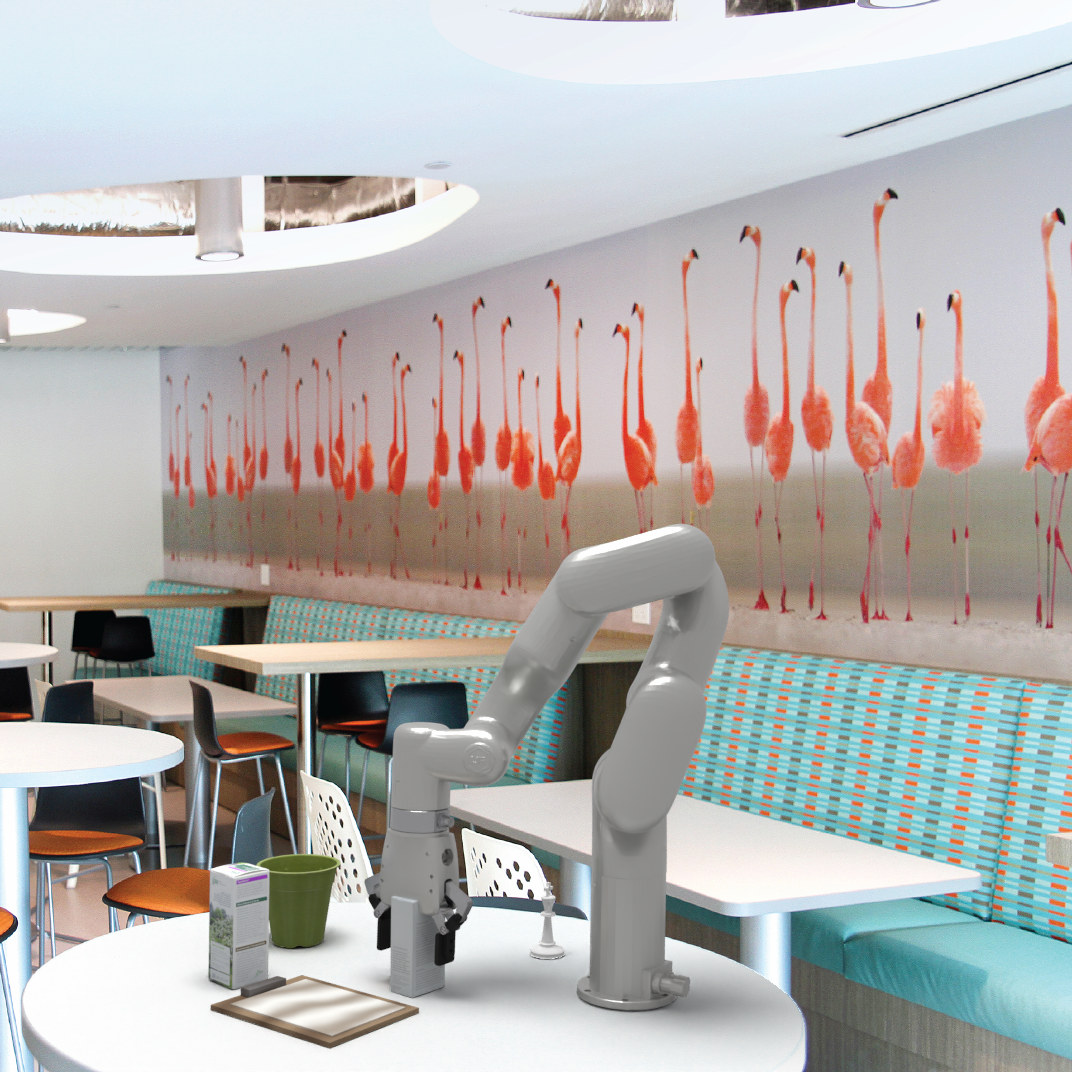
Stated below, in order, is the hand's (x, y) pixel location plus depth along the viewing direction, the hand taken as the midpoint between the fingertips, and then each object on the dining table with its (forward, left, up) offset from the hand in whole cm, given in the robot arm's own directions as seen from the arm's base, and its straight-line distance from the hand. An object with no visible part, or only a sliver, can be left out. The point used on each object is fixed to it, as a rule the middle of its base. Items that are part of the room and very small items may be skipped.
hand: (415, 955), depth 165 cm
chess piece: (-4, -23, -5) cm, 24 cm away
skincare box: (0, 0, -5) cm, 5 cm away
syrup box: (+20, +12, -5) cm, 23 cm away
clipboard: (+4, +14, -4) cm, 15 cm away
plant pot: (+27, -5, -5) cm, 28 cm away
